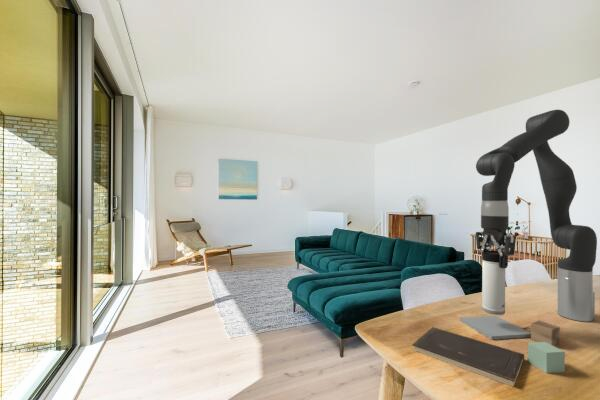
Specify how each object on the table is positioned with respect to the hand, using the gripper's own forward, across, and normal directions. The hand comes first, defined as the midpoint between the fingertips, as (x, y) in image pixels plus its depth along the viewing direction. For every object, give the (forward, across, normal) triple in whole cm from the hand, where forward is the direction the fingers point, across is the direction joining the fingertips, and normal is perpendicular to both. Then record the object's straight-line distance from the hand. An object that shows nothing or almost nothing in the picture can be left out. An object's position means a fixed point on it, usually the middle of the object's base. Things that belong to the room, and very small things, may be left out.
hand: (494, 265), depth 94 cm
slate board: (+21, 0, 0) cm, 21 cm away
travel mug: (+15, 0, 0) cm, 15 cm away
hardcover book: (+21, -14, +21) cm, 33 cm away
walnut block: (+21, -10, -8) cm, 24 cm away
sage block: (+21, -21, +5) cm, 30 cm away
